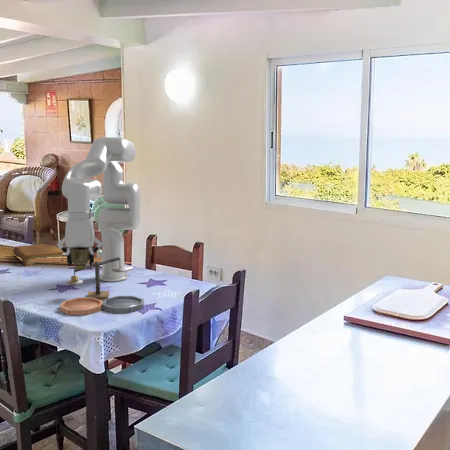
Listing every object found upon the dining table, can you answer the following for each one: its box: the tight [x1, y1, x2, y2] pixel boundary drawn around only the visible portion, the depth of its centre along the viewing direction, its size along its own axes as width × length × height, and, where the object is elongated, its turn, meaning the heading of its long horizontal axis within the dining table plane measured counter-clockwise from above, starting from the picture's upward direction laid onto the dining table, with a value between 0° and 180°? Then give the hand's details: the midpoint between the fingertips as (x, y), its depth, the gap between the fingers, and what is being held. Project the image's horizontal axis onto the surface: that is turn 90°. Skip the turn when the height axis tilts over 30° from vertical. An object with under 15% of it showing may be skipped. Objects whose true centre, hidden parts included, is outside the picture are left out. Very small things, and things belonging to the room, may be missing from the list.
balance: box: [66, 257, 129, 301], centre depth 208 cm, size 23×8×16 cm, turn 99°
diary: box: [12, 242, 65, 267], centre depth 269 cm, size 23×19×6 cm
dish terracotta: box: [59, 297, 104, 316], centre depth 196 cm, size 15×15×2 cm
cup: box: [69, 248, 90, 269], centre depth 193 cm, size 8×7×8 cm
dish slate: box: [101, 295, 145, 314], centre depth 199 cm, size 15×15×2 cm
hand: (80, 264), depth 193 cm, fingers closed on cup, 6 cm apart
